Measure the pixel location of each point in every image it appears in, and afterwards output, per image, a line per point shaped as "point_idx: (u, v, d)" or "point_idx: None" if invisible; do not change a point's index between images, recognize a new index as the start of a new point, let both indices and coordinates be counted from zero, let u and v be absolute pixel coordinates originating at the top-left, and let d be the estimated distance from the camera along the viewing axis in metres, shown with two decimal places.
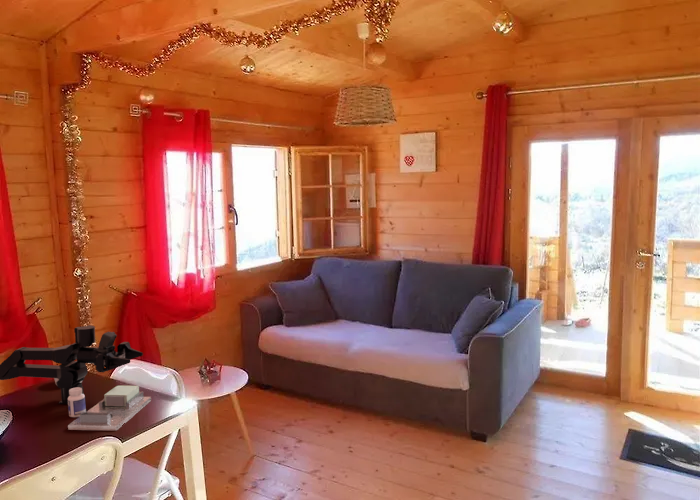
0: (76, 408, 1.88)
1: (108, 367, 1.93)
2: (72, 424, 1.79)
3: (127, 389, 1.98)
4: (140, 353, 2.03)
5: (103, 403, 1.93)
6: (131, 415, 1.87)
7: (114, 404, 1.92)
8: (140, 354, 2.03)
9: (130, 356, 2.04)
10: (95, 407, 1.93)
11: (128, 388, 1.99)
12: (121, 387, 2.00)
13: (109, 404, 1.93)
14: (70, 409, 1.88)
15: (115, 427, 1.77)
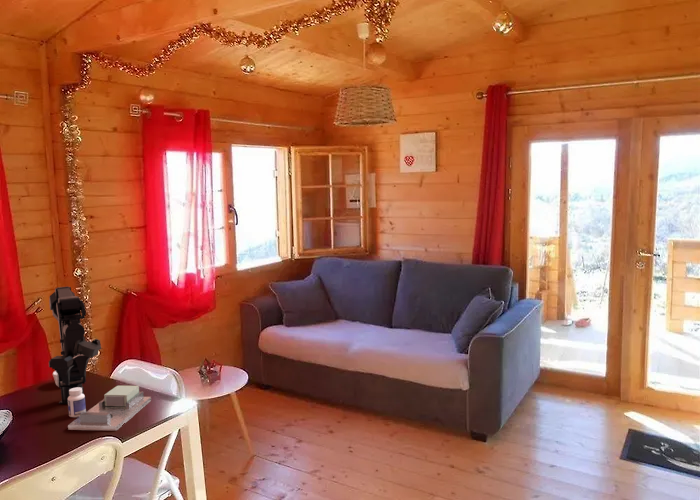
0: (76, 408, 1.88)
1: None
2: (72, 424, 1.79)
3: (127, 389, 1.98)
4: (83, 373, 1.94)
5: (103, 403, 1.93)
6: (131, 415, 1.87)
7: (114, 404, 1.92)
8: (82, 374, 1.94)
9: (78, 361, 1.94)
10: (95, 407, 1.93)
11: (128, 388, 1.99)
12: (121, 387, 2.00)
13: (109, 404, 1.93)
14: (70, 409, 1.88)
15: (115, 427, 1.77)
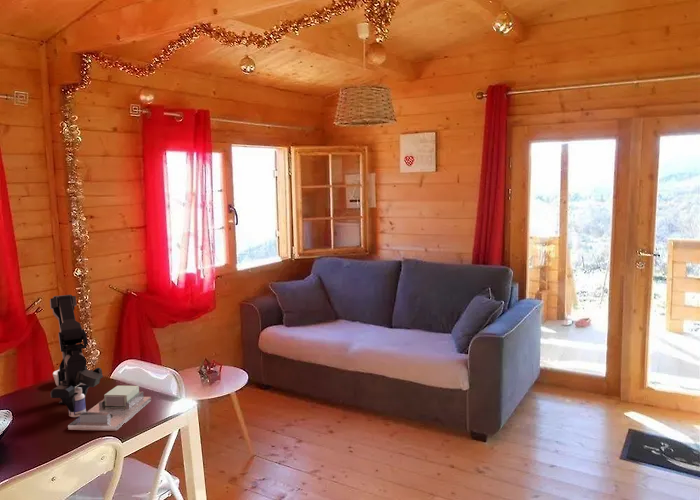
0: (76, 408, 1.88)
1: None
2: (72, 424, 1.79)
3: (127, 389, 1.98)
4: None
5: (103, 403, 1.93)
6: (131, 415, 1.87)
7: (114, 404, 1.92)
8: None
9: None
10: (95, 407, 1.93)
11: (128, 388, 1.99)
12: (121, 387, 2.00)
13: (109, 404, 1.93)
14: None
15: (115, 427, 1.77)
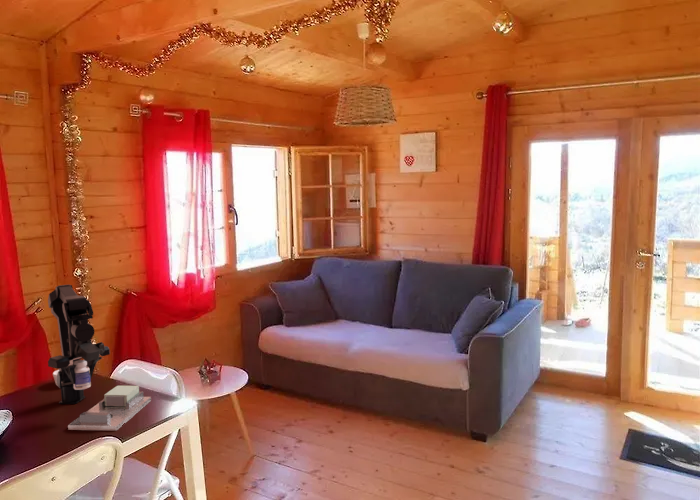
0: (77, 381, 1.84)
1: None
2: (72, 424, 1.79)
3: (127, 389, 1.98)
4: None
5: (103, 403, 1.93)
6: (131, 415, 1.87)
7: (114, 404, 1.92)
8: None
9: (87, 364, 1.90)
10: (95, 407, 1.93)
11: (128, 388, 1.99)
12: (121, 387, 2.00)
13: (109, 404, 1.93)
14: None
15: (115, 427, 1.77)
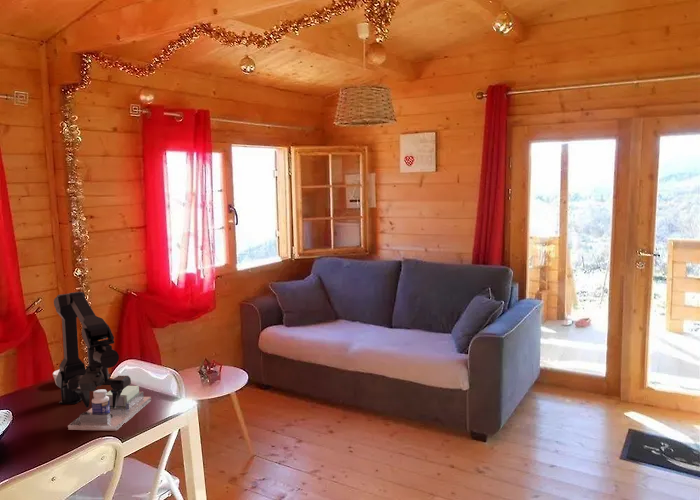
0: (92, 410, 1.82)
1: None
2: (72, 424, 1.79)
3: (127, 389, 1.98)
4: None
5: None
6: (131, 415, 1.87)
7: None
8: None
9: None
10: None
11: (128, 388, 1.99)
12: None
13: None
14: None
15: (115, 427, 1.77)
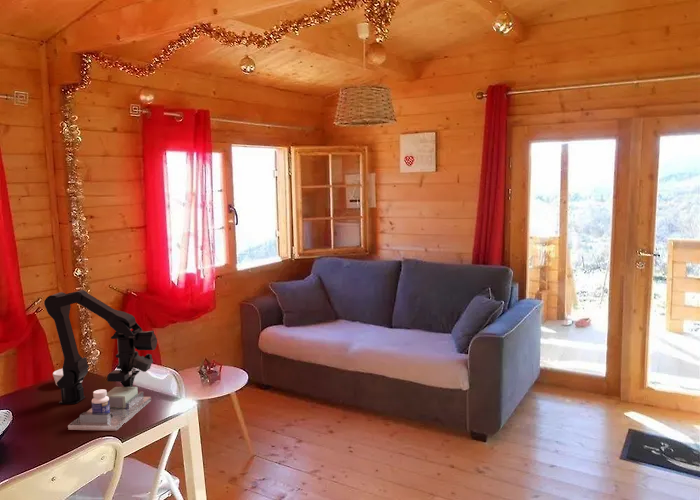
0: (92, 410, 1.82)
1: None
2: (72, 424, 1.79)
3: (125, 390, 1.97)
4: None
5: None
6: (131, 415, 1.87)
7: (112, 405, 1.91)
8: None
9: None
10: None
11: (127, 389, 1.98)
12: (119, 388, 1.98)
13: None
14: None
15: (115, 427, 1.77)
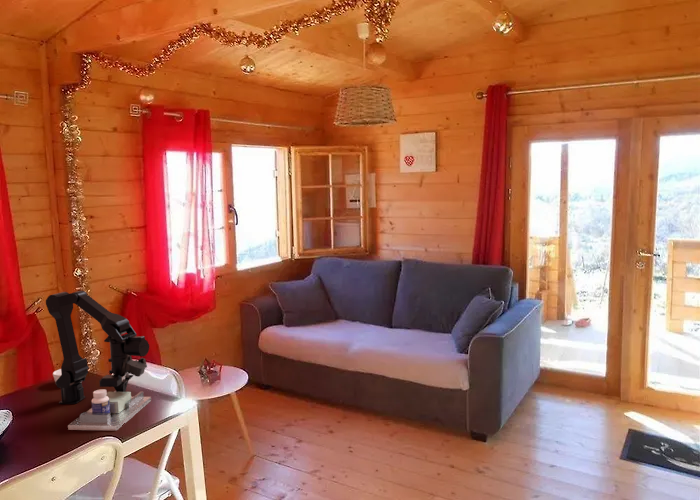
0: (92, 410, 1.82)
1: None
2: (72, 424, 1.79)
3: (118, 395, 1.92)
4: None
5: None
6: (131, 415, 1.87)
7: None
8: None
9: None
10: None
11: (120, 394, 1.93)
12: (112, 394, 1.94)
13: None
14: None
15: (115, 427, 1.77)
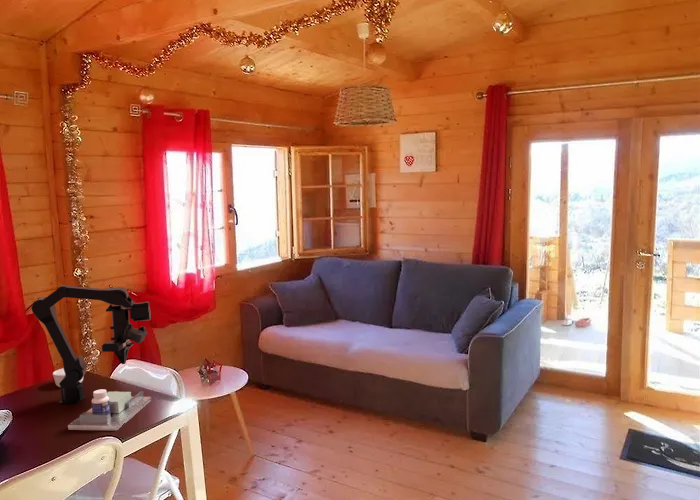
0: (92, 410, 1.82)
1: None
2: (72, 424, 1.79)
3: (118, 395, 1.92)
4: None
5: None
6: (131, 415, 1.87)
7: None
8: None
9: None
10: None
11: (120, 394, 1.93)
12: (112, 394, 1.94)
13: None
14: None
15: (115, 427, 1.77)
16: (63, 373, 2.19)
